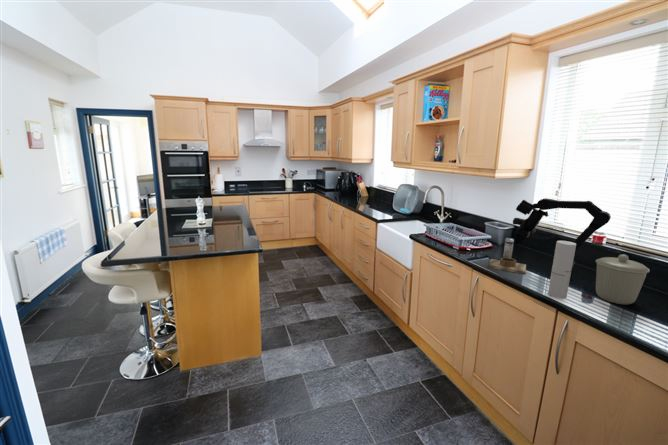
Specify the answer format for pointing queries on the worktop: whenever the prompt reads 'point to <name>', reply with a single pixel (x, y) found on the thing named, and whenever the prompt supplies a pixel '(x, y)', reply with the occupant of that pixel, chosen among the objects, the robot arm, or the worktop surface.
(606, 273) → the canister
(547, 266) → the worktop surface
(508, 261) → the wooden collar
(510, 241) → the steel tube
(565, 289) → the cylindrical container
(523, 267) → the oak base board
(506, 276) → the worktop surface
